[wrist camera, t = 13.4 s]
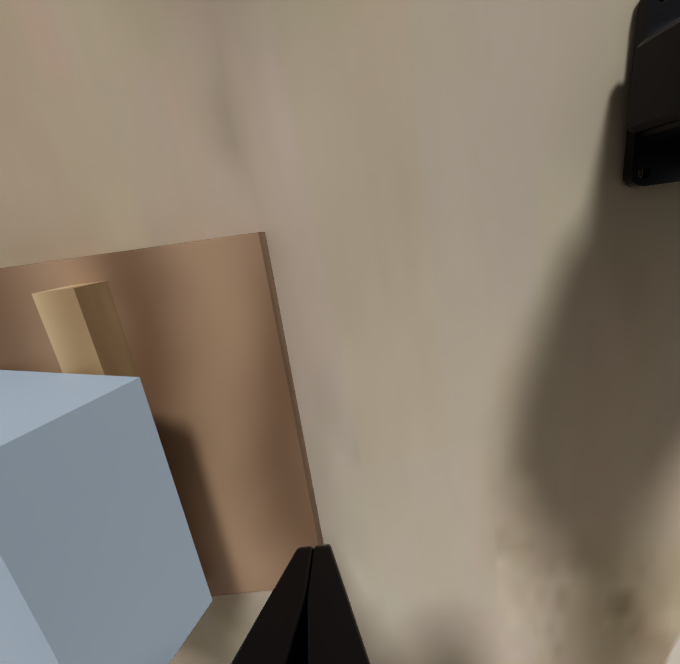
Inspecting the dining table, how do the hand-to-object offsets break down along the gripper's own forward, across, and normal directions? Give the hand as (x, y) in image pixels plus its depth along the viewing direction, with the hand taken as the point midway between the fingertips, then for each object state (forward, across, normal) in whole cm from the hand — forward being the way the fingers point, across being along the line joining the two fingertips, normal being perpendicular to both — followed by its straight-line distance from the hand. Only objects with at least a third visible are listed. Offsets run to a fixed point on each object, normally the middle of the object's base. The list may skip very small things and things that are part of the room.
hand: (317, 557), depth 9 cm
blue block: (+2, +6, +1) cm, 7 cm away
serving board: (+8, +8, +1) cm, 11 cm away
